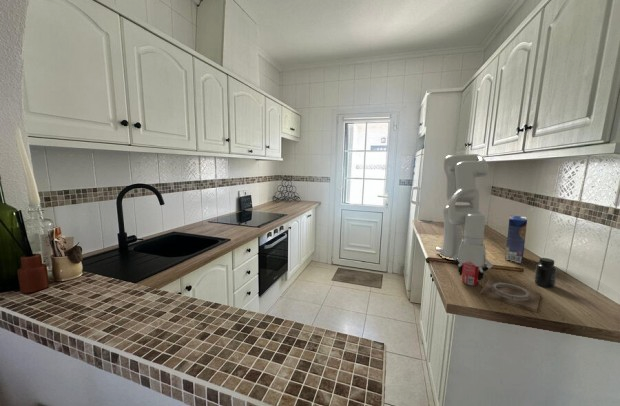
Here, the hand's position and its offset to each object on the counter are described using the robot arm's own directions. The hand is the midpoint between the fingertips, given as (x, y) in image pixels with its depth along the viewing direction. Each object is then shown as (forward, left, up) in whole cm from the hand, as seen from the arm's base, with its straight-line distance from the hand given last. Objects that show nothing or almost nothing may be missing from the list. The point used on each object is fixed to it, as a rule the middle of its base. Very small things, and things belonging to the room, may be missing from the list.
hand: (470, 276), depth 116 cm
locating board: (+15, -1, -3) cm, 15 cm away
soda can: (0, 0, -3) cm, 3 cm away
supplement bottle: (+24, +21, -3) cm, 32 cm away
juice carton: (+9, +50, -3) cm, 51 cm away
